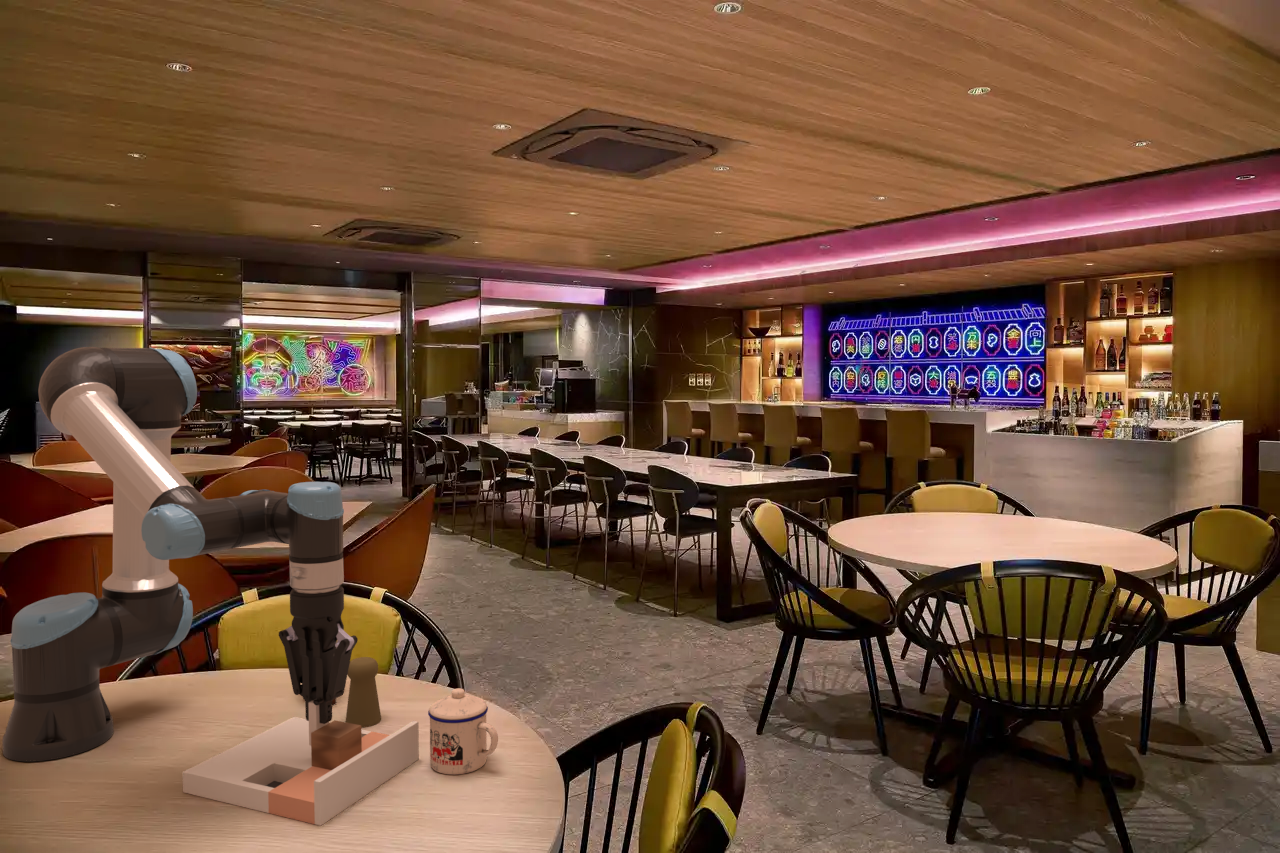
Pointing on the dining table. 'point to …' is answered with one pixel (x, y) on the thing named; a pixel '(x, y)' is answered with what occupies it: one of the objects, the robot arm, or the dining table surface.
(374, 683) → the cork
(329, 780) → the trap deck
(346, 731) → the walnut block
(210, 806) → the dining table surface
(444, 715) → the teacup with lid
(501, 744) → the dining table surface
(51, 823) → the dining table surface
